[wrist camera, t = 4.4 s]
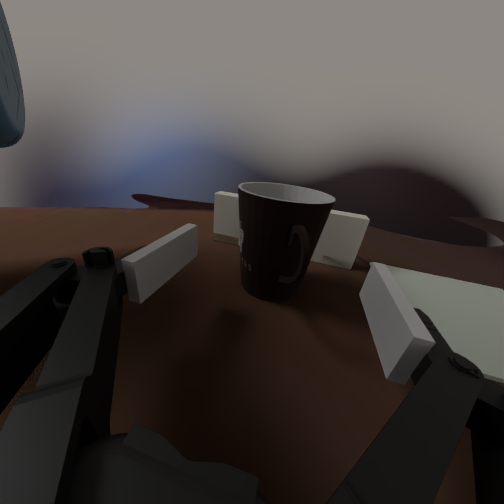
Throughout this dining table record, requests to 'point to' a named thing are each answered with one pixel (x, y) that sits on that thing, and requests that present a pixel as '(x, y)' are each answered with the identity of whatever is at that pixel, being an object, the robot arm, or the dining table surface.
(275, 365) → the dining table surface
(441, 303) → the mat
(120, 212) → the dining table surface
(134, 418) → the dining table surface
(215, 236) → the white rectangular block
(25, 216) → the dining table surface
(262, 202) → the coffee mug
